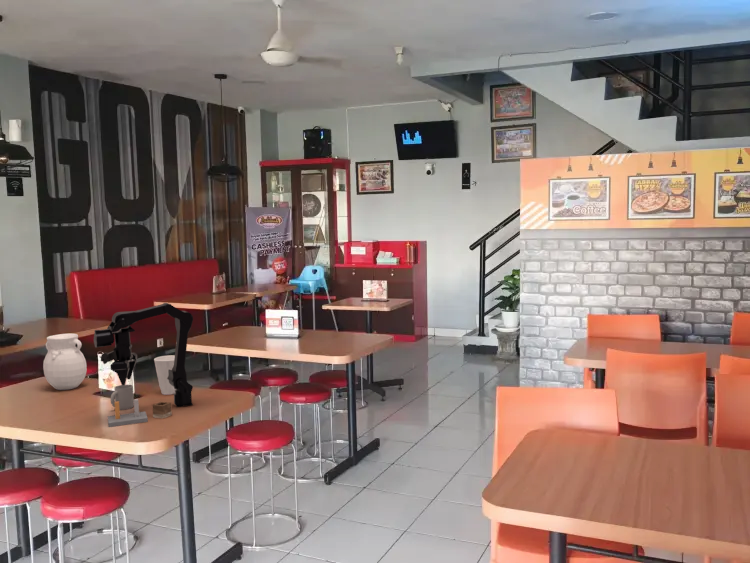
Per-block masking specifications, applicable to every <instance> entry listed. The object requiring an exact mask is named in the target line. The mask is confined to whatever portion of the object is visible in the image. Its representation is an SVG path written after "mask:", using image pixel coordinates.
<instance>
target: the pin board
mask: <svg viewBox="0 0 750 563" xmlns="http://www.w3.org/2000/svg"><path fill="white" fill-rule="evenodd" d="M139 403H140V402H139V398H134V407H133V410H134V412H129V413H122V414H120V413H121V410H120V409H119V401H116V402H115V407H114V415H108V416H107V424H108V425H107V426H108V428H110V427H111V428H112V427H119V426H126V425H134V424H139V423H140V424H142V423H148V420H149V419H148V416H147V412H146V411H140V406H139V405H140V404H139Z"/></svg>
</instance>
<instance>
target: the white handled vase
mask: <svg viewBox="0 0 750 563" xmlns="http://www.w3.org/2000/svg"><path fill="white" fill-rule="evenodd" d="M76 345H77V346H76ZM82 345H83V344H82V342H81V340H79V335H78V334H77V333H71V332H70V333H61V334H54V335H49V336H47V337H46V343H45V349H46V350H47V353H46V354H45V357H44V359H43V365H42V367H43V368H42V369H43V375H44V378H45V379H46V381H47V383H48V384H50V385H51V387H53V388H54V389H55V390H57V391H67V390H72V389H77V388H78V387H79V386H80V384H82V383H83V381H84V379H85V378H86V376H87V367H88V366H87V365H88V364H87V360H86V358H85V356H84V353H83V352H82V351H81V348H82Z"/></svg>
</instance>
